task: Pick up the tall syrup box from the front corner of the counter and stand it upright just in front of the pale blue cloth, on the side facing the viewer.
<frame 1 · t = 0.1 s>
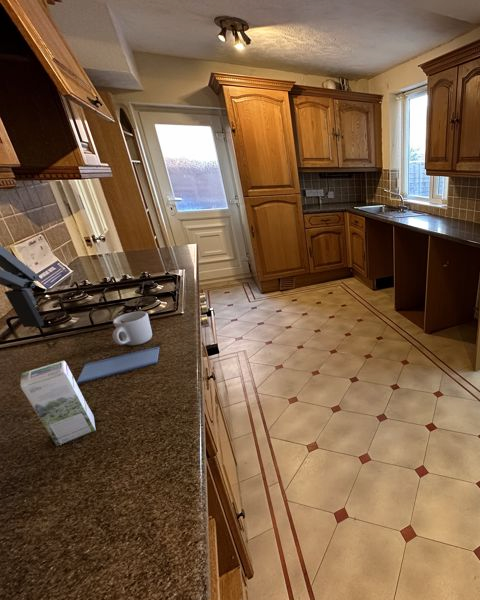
cup: (136, 344, 94), on the worktop
syrup box: (77, 432, 64), on the worktop
cloth: (121, 364, 84), on the worktop
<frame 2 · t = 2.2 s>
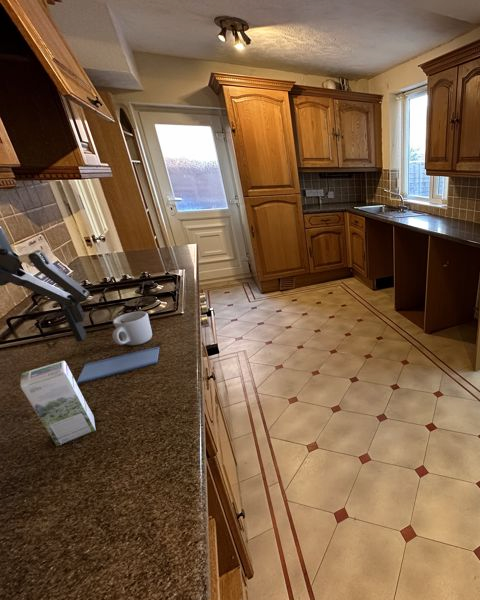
hand: (30, 349, 56), 19 cm above the worktop, tool pointing down, fingers open, 13 cm apart
nothing on the worktop moved.
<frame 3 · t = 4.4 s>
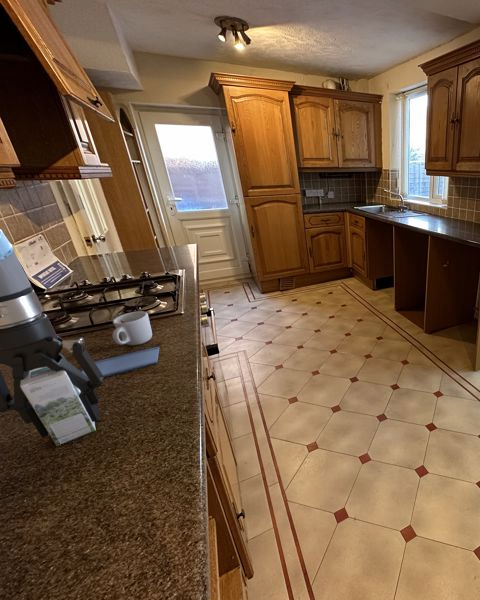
hand: (72, 424, 63), 2 cm above the worktop, tool pointing down, fingers closed on syrup box, 6 cm apart
syrup box: (77, 432, 64), on the worktop, touching gripper
everything else where it was.
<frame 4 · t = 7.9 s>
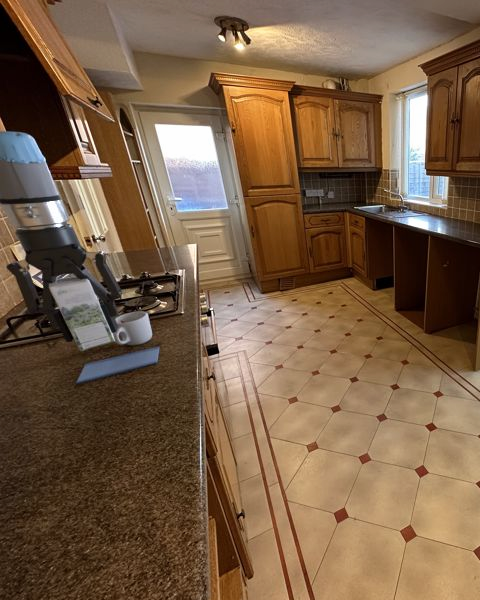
hand: (93, 334, 69), 15 cm above the worktop, tool pointing down, fingers closed on syrup box, 6 cm apart
syrup box: (97, 343, 69), point 13 cm above the worktop, touching gripper
everything else where it was.
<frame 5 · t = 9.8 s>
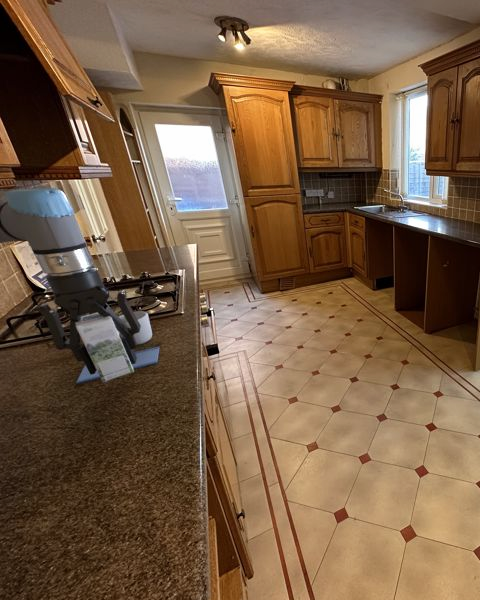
hand: (114, 365, 73), 6 cm above the worktop, tool pointing down, fingers closed on syrup box, 6 cm apart
syrup box: (118, 373, 74), point 4 cm above the worktop, touching gripper
everything else where it was.
when the fingers open (2 cm above the worktop, at t = 11.2 s): syrup box stays where it is, on the worktop.
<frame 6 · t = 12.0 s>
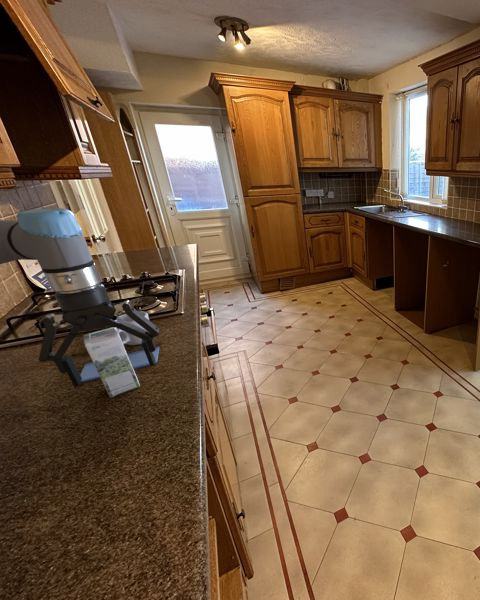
hand: (117, 372, 74), 4 cm above the worktop, tool pointing down, fingers open, 13 cm apart
syrup box: (124, 388, 76), on the worktop
everything else where it was.
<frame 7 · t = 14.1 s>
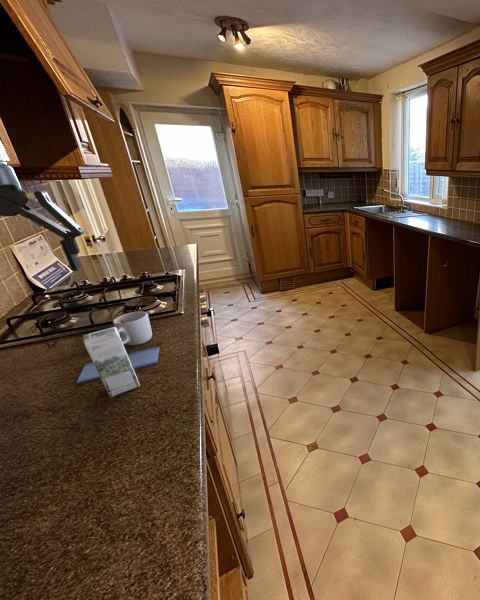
hand: (33, 274, 67), 28 cm above the worktop, tool pointing down, fingers open, 13 cm apart
nothing on the worktop moved.
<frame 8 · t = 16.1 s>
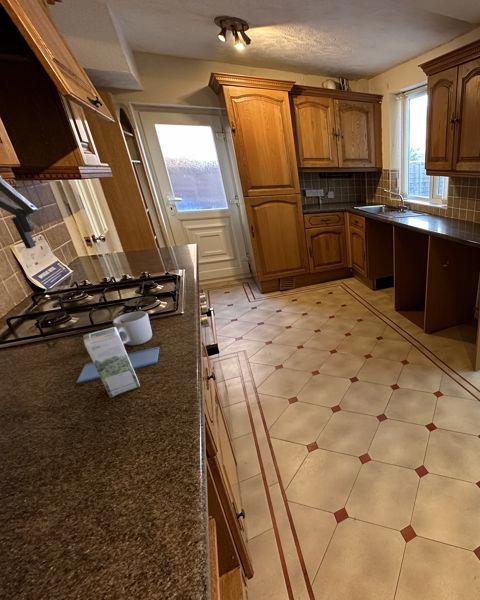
nothing on the worktop moved.
at the end: syrup box inside the target area on the worktop beside the cloth (1.2 cm from its centre), on the worktop; syrup box tilted 0°; the gripper is holding nothing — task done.
